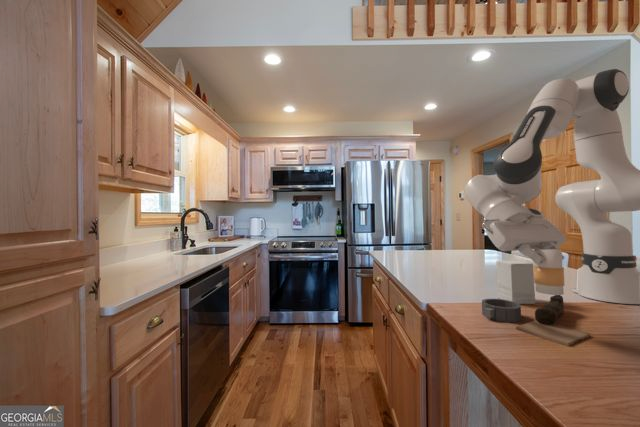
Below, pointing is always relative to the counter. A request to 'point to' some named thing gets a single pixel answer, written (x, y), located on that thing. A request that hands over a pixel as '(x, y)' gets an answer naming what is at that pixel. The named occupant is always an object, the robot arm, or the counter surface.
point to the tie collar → (501, 310)
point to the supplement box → (516, 281)
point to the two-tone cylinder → (549, 272)
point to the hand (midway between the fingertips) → (550, 260)
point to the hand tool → (550, 310)
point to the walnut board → (553, 332)
